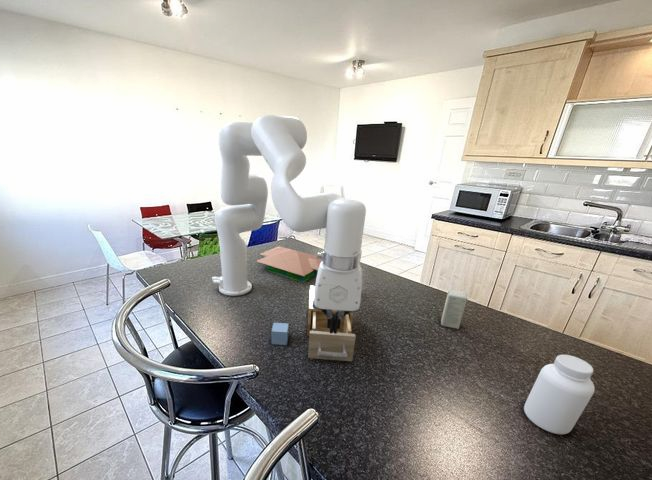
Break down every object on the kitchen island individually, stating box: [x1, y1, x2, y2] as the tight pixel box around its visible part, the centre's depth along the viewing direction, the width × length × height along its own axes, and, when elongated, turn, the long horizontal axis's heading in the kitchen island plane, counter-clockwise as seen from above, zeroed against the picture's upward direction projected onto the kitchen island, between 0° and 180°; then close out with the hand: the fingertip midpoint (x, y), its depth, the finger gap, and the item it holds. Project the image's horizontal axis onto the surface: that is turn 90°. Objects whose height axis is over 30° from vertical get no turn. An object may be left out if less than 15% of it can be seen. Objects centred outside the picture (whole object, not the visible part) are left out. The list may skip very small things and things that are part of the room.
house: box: [255, 245, 322, 283], centre depth 133 cm, size 23×33×8 cm
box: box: [440, 289, 468, 330], centre depth 92 cm, size 5×4×11 cm
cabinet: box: [306, 285, 355, 337], centre depth 91 cm, size 15×13×10 cm
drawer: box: [307, 311, 356, 362], centre depth 79 cm, size 18×11×8 cm, turn 174°
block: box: [271, 322, 290, 346], centre depth 84 cm, size 4×4×4 cm
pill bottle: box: [523, 354, 595, 435], centre depth 59 cm, size 8×8×15 cm
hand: (332, 330), depth 71 cm, fingers closed
